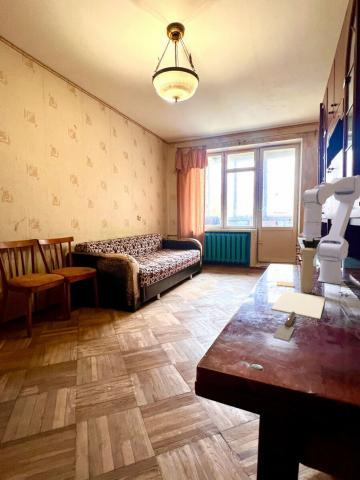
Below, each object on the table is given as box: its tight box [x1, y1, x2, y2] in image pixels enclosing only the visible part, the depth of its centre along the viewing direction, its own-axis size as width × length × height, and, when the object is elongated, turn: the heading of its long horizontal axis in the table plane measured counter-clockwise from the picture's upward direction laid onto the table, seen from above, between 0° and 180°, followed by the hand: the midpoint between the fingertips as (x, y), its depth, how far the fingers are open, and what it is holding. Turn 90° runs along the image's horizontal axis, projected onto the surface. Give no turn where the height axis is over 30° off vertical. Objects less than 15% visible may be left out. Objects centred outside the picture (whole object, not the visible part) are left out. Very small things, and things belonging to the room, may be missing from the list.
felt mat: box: [270, 290, 326, 320], centre depth 74 cm, size 20×12×1 cm, turn 146°
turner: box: [273, 312, 297, 342], centre depth 58 cm, size 15×3×1 cm, turn 146°
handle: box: [299, 247, 317, 294], centre depth 85 cm, size 5×6×15 cm
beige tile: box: [275, 280, 295, 288], centre depth 95 cm, size 6×6×1 cm
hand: (310, 259), depth 91 cm, fingers closed
